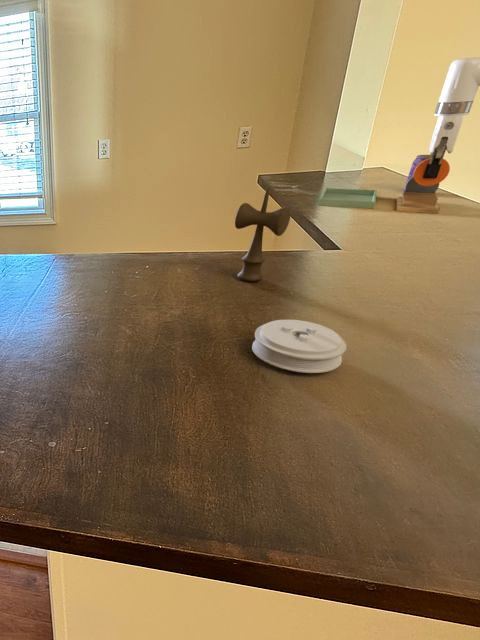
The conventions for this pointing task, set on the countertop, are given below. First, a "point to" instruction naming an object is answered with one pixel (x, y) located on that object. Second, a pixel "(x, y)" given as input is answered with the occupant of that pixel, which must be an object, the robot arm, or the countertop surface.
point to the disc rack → (417, 202)
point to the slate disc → (420, 187)
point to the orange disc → (430, 181)
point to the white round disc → (299, 346)
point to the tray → (348, 198)
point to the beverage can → (415, 164)
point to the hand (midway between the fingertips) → (429, 177)
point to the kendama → (259, 234)
